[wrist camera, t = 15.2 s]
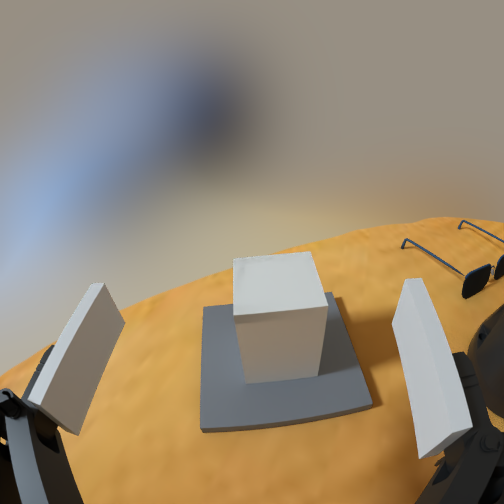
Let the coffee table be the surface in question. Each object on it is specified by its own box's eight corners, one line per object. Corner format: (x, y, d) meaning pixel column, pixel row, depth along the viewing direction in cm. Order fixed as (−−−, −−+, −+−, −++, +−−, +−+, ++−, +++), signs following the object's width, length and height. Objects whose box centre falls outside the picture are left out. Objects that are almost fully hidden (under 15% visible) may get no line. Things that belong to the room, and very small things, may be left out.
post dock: (330, 298, 38) (336, 245, 33) (369, 408, 25) (393, 363, 20) (205, 313, 38) (192, 261, 33) (202, 432, 24) (179, 393, 20)
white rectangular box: (306, 324, 33) (310, 251, 28) (317, 376, 28) (328, 305, 22) (243, 330, 33) (233, 258, 28) (246, 383, 28) (233, 315, 22)
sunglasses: (459, 306, 34) (468, 275, 32) (397, 260, 47) (400, 232, 44) (511, 271, 38) (518, 245, 35) (456, 238, 50) (460, 214, 48)
